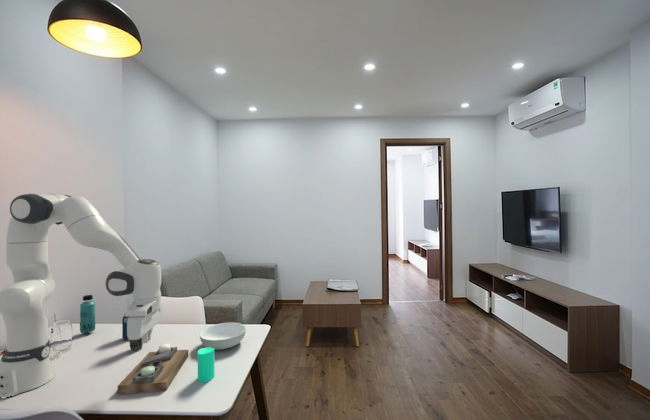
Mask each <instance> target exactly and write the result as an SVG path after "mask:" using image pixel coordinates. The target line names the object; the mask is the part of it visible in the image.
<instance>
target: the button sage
mask: <svg viewBox="0 0 650 420" xmlns="http://www.w3.org/2000/svg"><path fill="white" fill-rule="evenodd" d="M154 373H155V367H154V366H147V367H144V368H143V369H141V376H150V375H153V374H154Z"/></svg>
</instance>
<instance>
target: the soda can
mask: <svg viewBox="0 0 650 420" xmlns="http://www.w3.org/2000/svg"><path fill="white" fill-rule="evenodd" d="M128 318H129V317H127V316H126V313H125V314H124V315H123V317H122V319H121V320H122V322H121V323H122V325H121V326H122V327H121V329H122V330H121V331H122V334H121V335H122V338H123V340H124V341H129V339H128V337H127V320H128Z"/></svg>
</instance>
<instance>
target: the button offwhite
mask: <svg viewBox="0 0 650 420" xmlns="http://www.w3.org/2000/svg"><path fill="white" fill-rule="evenodd" d="M171 347H172V344H171V343H168V342H167V343H162V344H161V345H159V346H158V349H159V353H160V354H162V353H165V352H168V351H171Z"/></svg>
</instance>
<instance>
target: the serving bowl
mask: <svg viewBox="0 0 650 420" xmlns="http://www.w3.org/2000/svg"><path fill="white" fill-rule="evenodd" d="M246 330H247V328H246V325H244V324H242V323H240V322H222V323H217V324H213V325H210V326H208V327H206V328H204V329H203V330H201V332H200V333H199V340H200V342H201V344H202V345H203V346H204V348H206V347H211V348H214V350H225V349H229V348H232V347H235V346H237V345H238V344H239V343H241V341H243V340H244V338H245V336H246V332H247V331H246Z"/></svg>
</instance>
